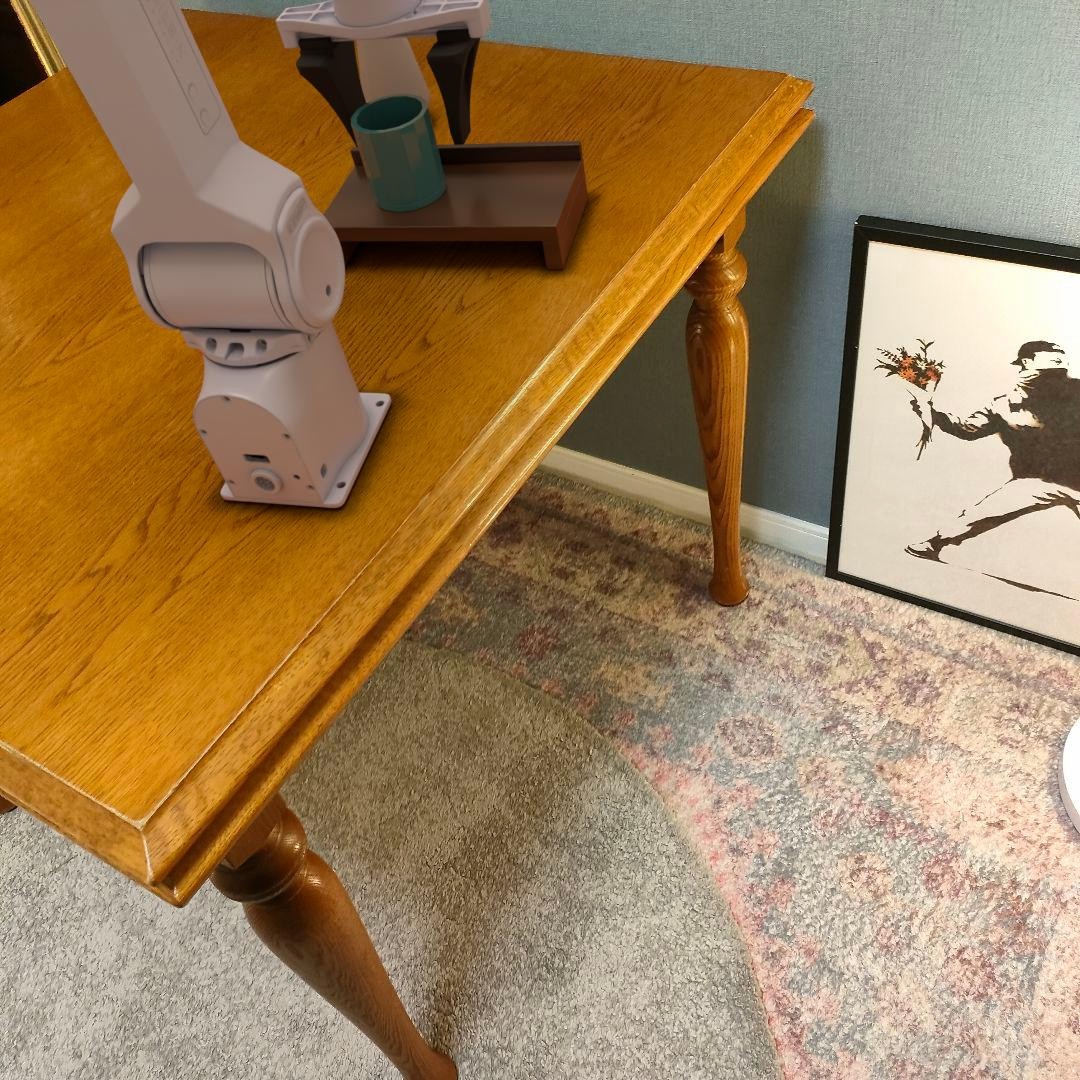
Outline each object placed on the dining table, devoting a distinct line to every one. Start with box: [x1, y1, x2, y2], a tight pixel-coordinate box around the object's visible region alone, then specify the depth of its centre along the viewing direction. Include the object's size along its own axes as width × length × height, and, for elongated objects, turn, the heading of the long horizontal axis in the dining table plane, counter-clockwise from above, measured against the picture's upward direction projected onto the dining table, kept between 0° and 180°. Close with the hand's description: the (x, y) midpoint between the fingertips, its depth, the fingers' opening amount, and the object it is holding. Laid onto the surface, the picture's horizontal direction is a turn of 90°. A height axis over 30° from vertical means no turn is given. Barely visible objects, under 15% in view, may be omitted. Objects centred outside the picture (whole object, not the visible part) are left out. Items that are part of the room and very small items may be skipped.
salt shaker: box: [356, 37, 432, 109], centre depth 83 cm, size 6×6×13 cm
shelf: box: [323, 140, 589, 271], centre depth 73 cm, size 9×18×5 cm, turn 77°
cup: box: [351, 94, 447, 212], centre depth 71 cm, size 5×5×6 cm
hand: (413, 139), depth 73 cm, fingers open, 7 cm apart
